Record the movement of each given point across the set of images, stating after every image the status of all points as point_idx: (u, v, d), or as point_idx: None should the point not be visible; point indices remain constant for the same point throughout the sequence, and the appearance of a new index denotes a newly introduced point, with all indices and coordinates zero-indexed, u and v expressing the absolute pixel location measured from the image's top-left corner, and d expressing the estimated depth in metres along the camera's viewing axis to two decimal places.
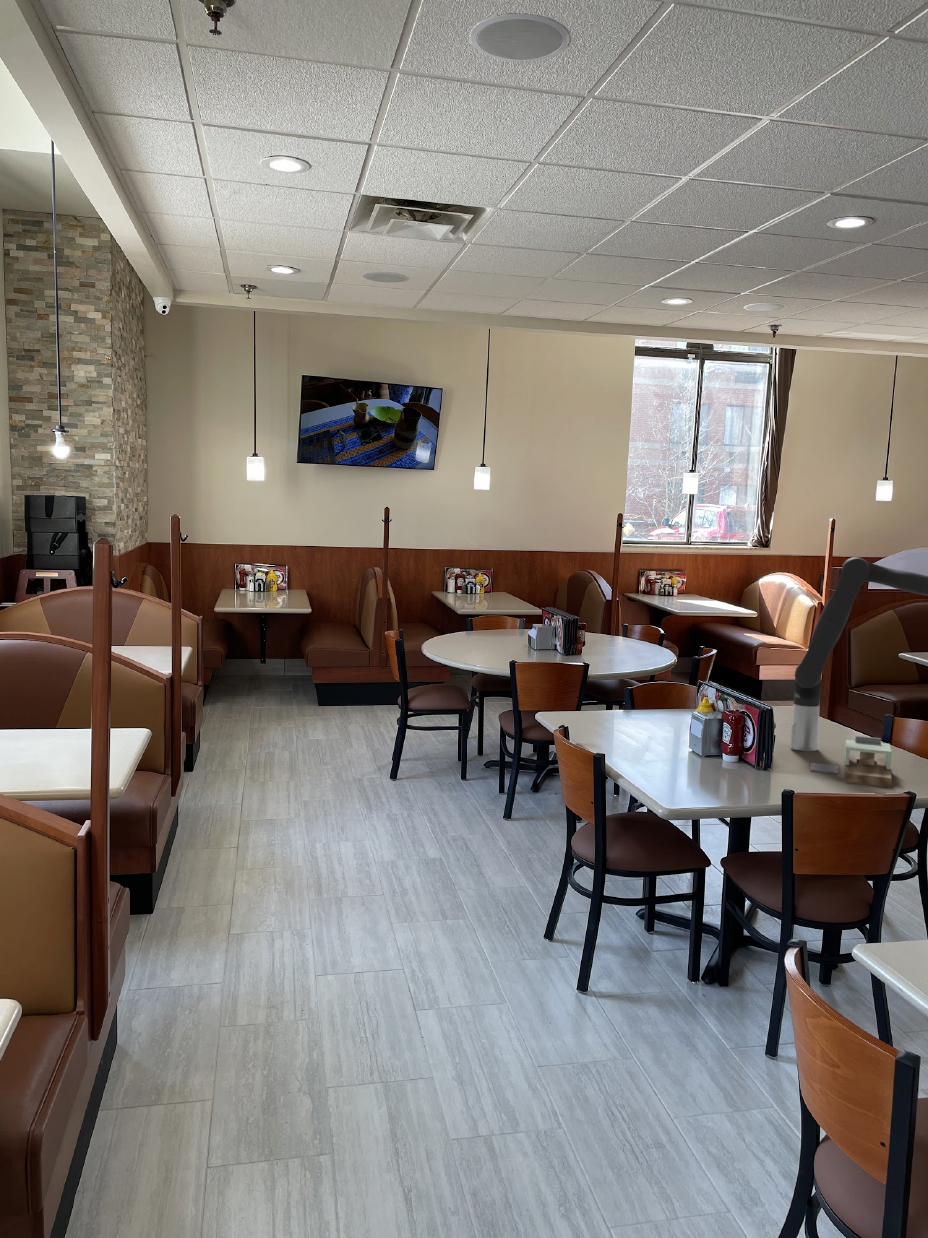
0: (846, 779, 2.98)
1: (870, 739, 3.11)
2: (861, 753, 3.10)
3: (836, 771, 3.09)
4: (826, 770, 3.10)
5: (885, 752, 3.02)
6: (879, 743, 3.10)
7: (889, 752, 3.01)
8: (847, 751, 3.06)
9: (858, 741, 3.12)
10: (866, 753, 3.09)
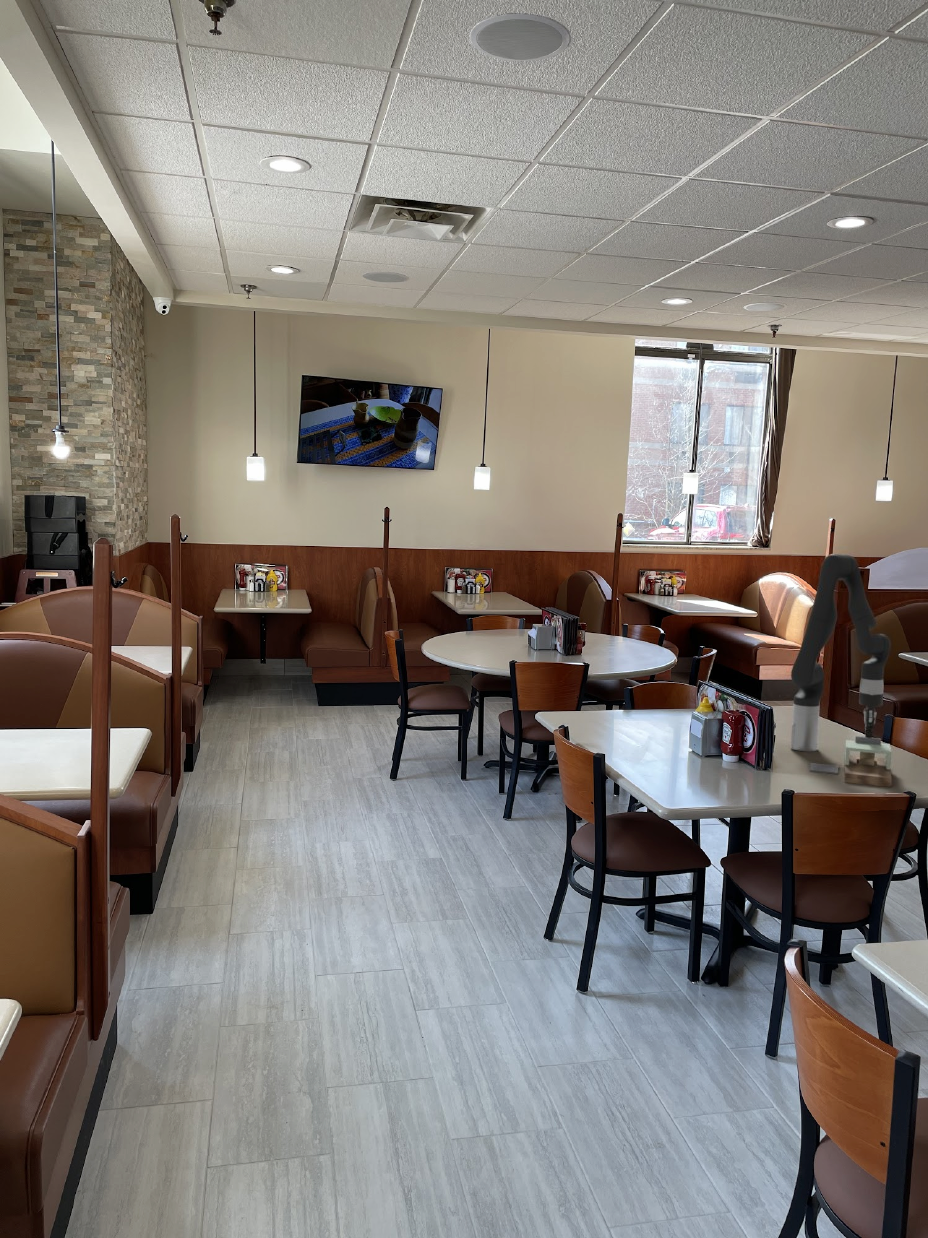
0: (846, 779, 2.98)
1: (870, 739, 3.11)
2: (861, 753, 3.10)
3: (836, 771, 3.09)
4: (826, 770, 3.10)
5: (885, 752, 3.02)
6: (879, 743, 3.10)
7: (889, 752, 3.01)
8: (847, 751, 3.06)
9: (858, 741, 3.12)
10: (866, 753, 3.09)
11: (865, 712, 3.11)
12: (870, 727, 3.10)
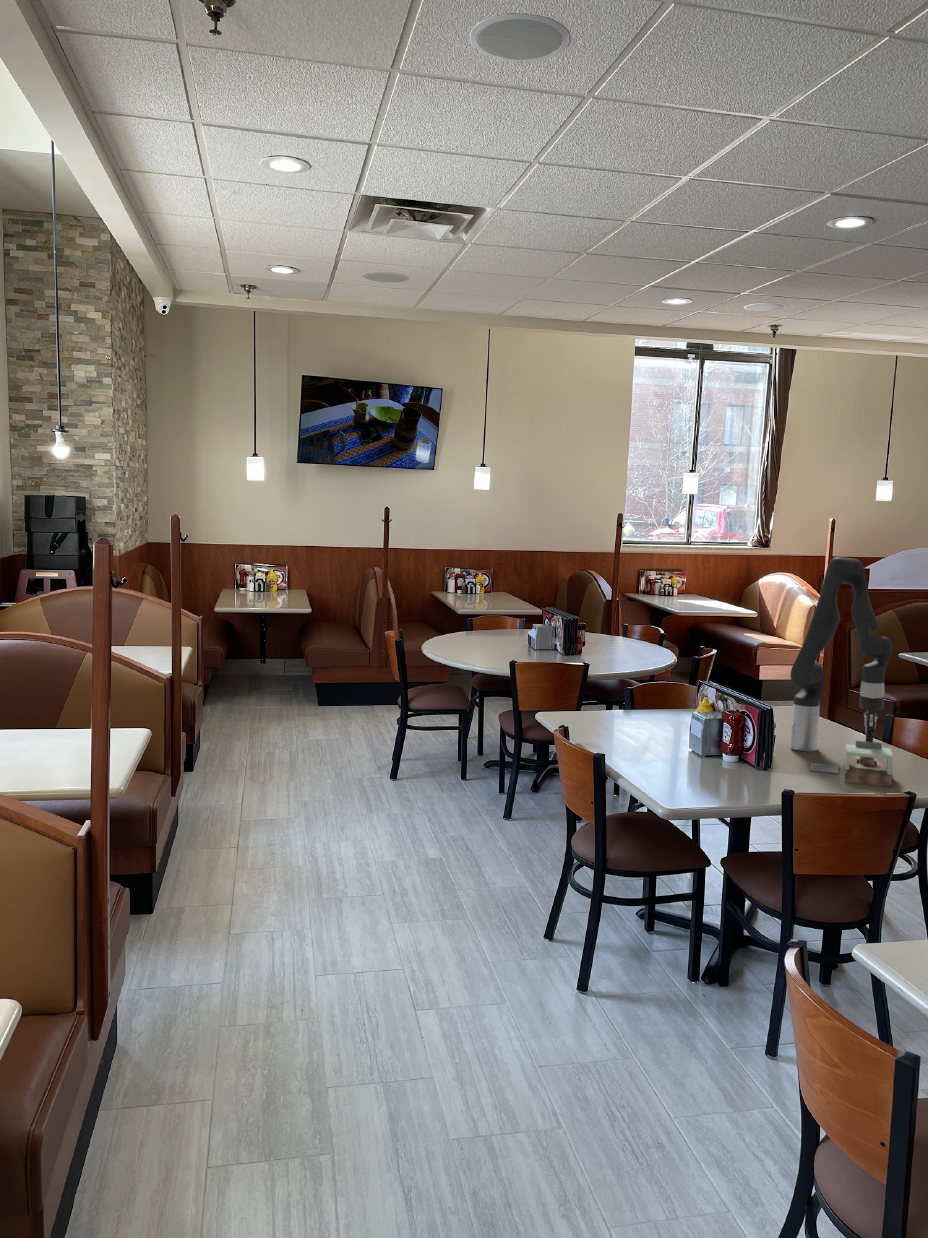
0: (846, 779, 2.98)
1: (871, 744, 3.05)
2: None
3: (836, 771, 3.09)
4: (826, 770, 3.10)
5: (886, 757, 2.96)
6: (880, 748, 3.04)
7: (890, 757, 2.95)
8: (847, 756, 3.00)
9: (858, 746, 3.06)
10: None
11: (865, 716, 3.05)
12: (871, 731, 3.04)
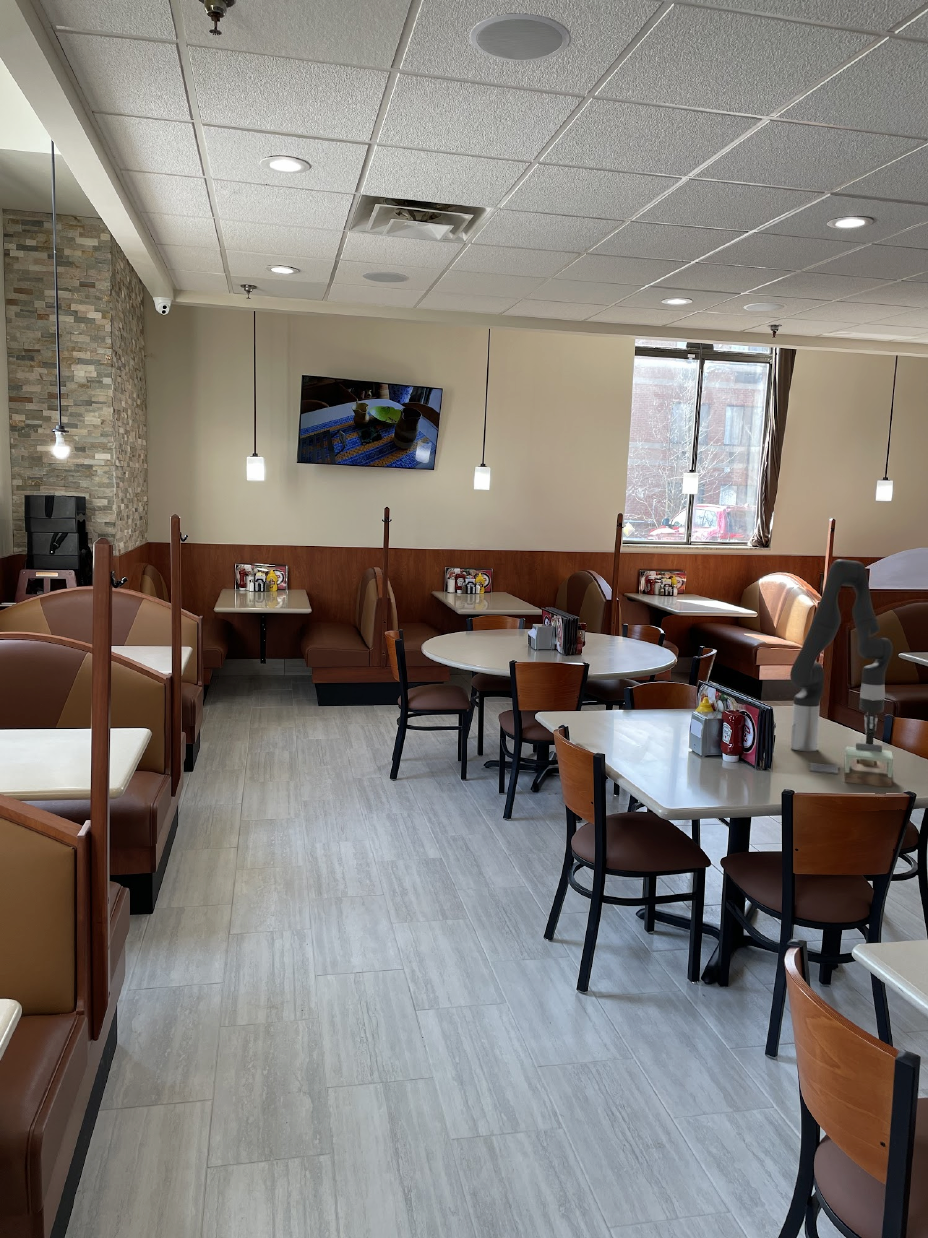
0: (846, 779, 2.98)
1: (871, 746, 3.02)
2: None
3: (836, 771, 3.09)
4: (826, 770, 3.10)
5: (886, 760, 2.93)
6: (880, 750, 3.01)
7: (891, 760, 2.92)
8: (847, 758, 2.97)
9: (859, 748, 3.03)
10: None
11: (866, 718, 3.02)
12: (871, 733, 3.01)
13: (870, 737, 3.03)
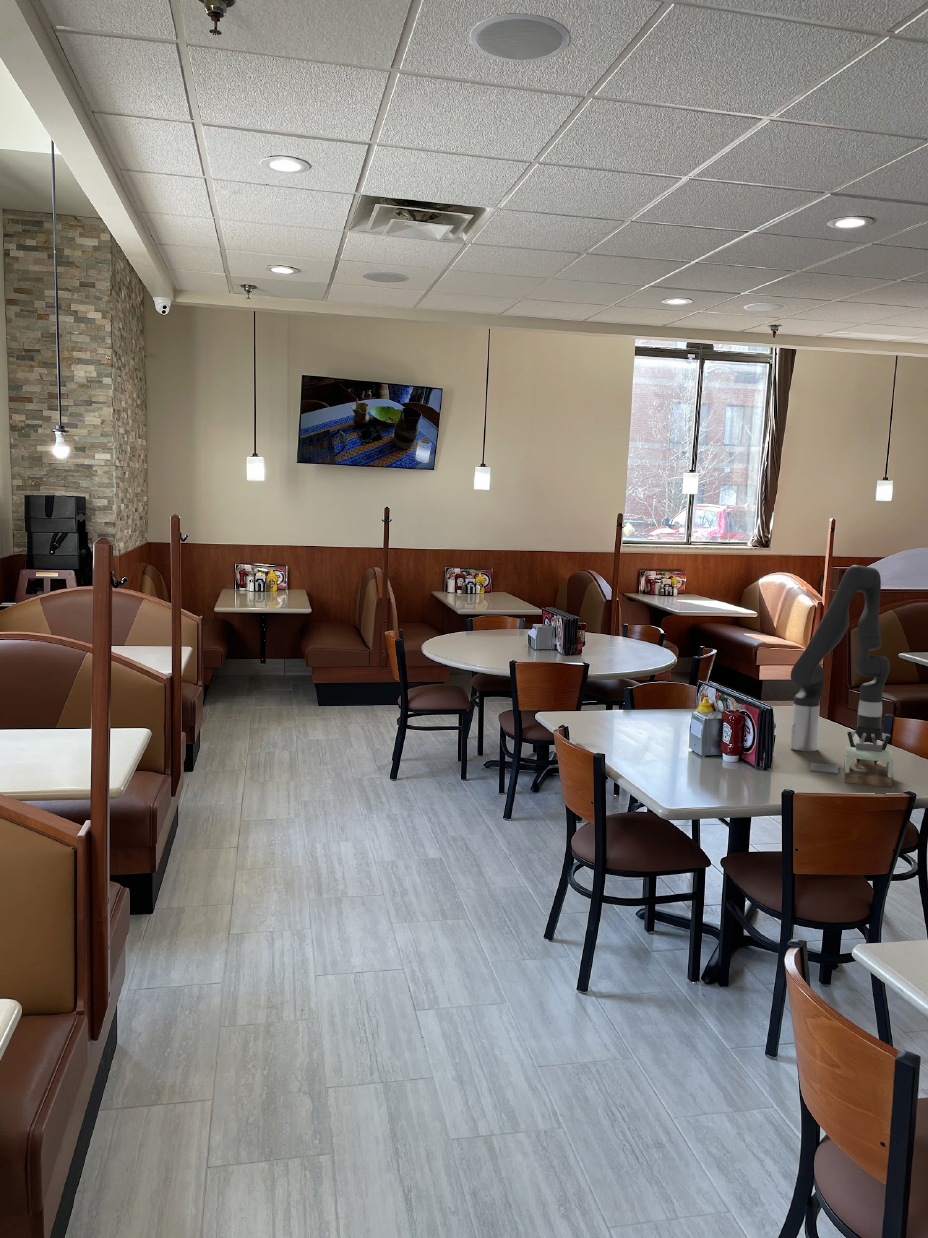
0: (846, 779, 2.98)
1: (871, 746, 3.02)
2: None
3: (836, 771, 3.09)
4: (826, 770, 3.10)
5: (886, 760, 2.92)
6: (880, 750, 3.01)
7: (891, 760, 2.92)
8: (847, 759, 2.97)
9: (859, 748, 3.03)
10: None
11: None
12: (851, 745, 3.12)
13: None
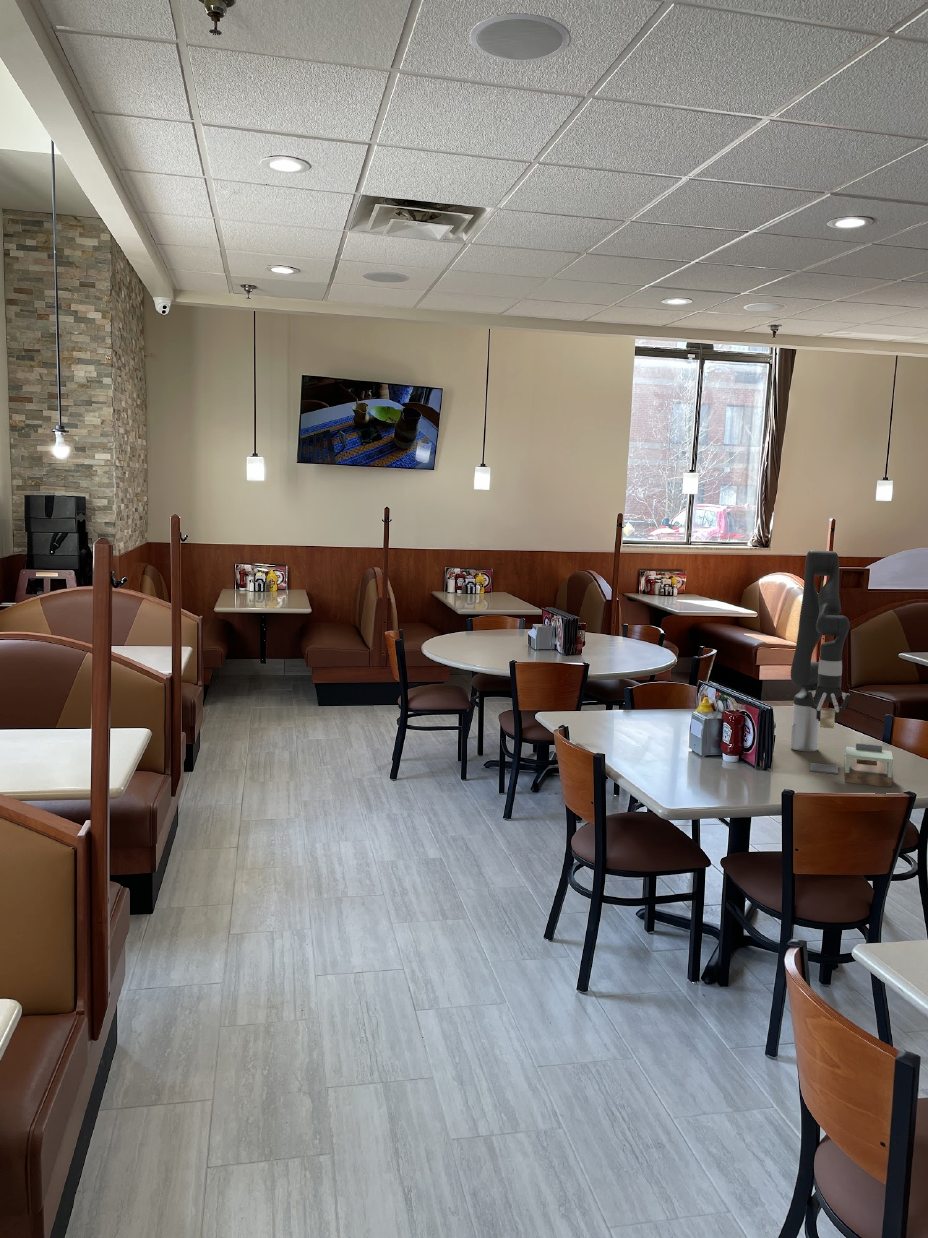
0: (846, 779, 2.98)
1: (871, 746, 3.02)
2: (821, 713, 3.09)
3: (836, 771, 3.09)
4: (826, 770, 3.10)
5: (886, 760, 2.92)
6: (880, 750, 3.01)
7: (891, 760, 2.92)
8: (847, 759, 2.97)
9: (859, 748, 3.03)
10: (826, 712, 3.09)
11: None
12: None
13: None
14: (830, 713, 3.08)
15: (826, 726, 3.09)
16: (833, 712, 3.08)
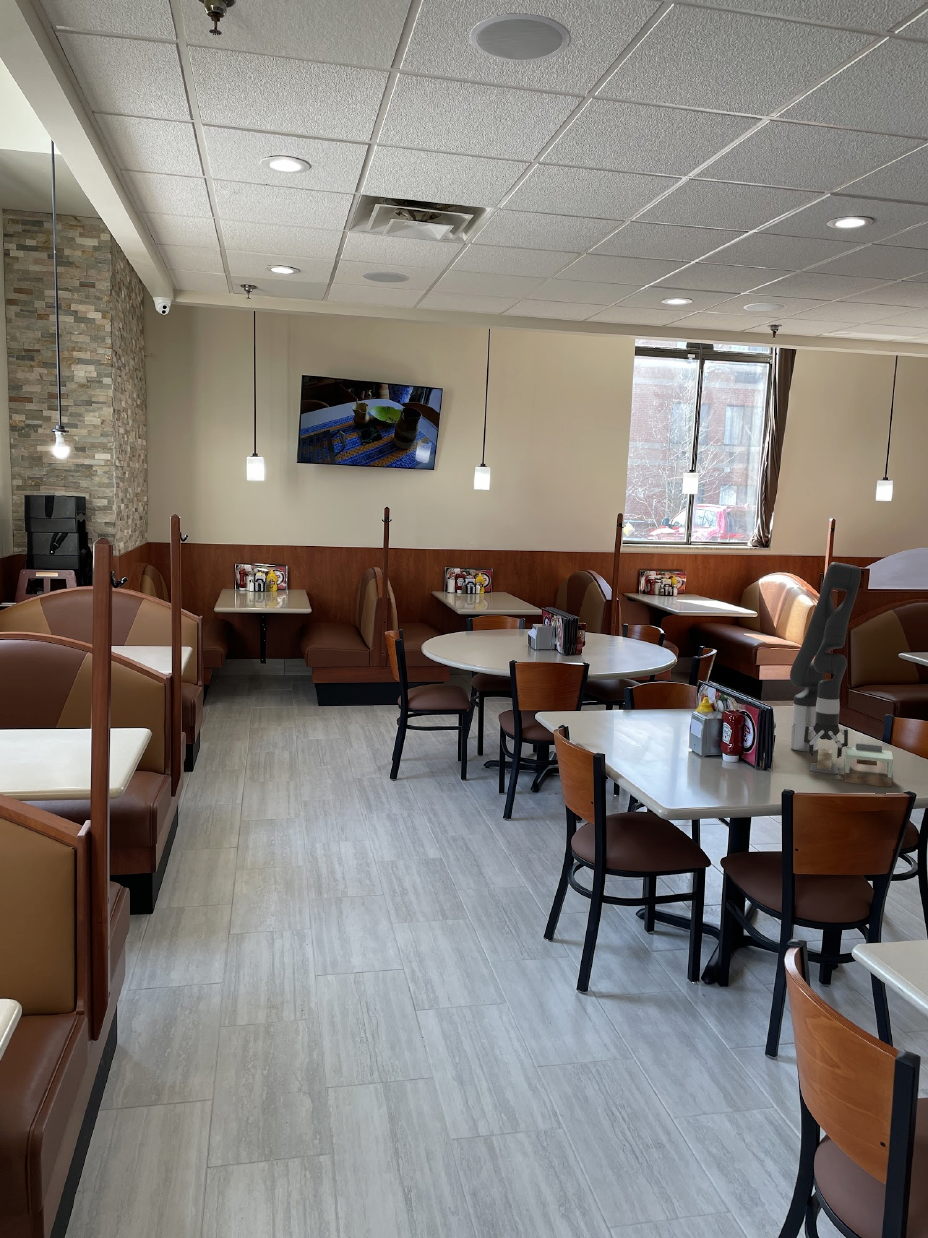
0: (846, 779, 2.98)
1: (871, 746, 3.02)
2: (818, 754, 3.11)
3: (836, 771, 3.09)
4: (826, 770, 3.10)
5: (886, 760, 2.92)
6: (880, 750, 3.01)
7: (891, 760, 2.92)
8: (847, 759, 2.97)
9: (859, 748, 3.03)
10: (823, 754, 3.11)
11: None
12: None
13: None
14: (827, 755, 3.10)
15: (823, 768, 3.11)
16: (830, 754, 3.10)
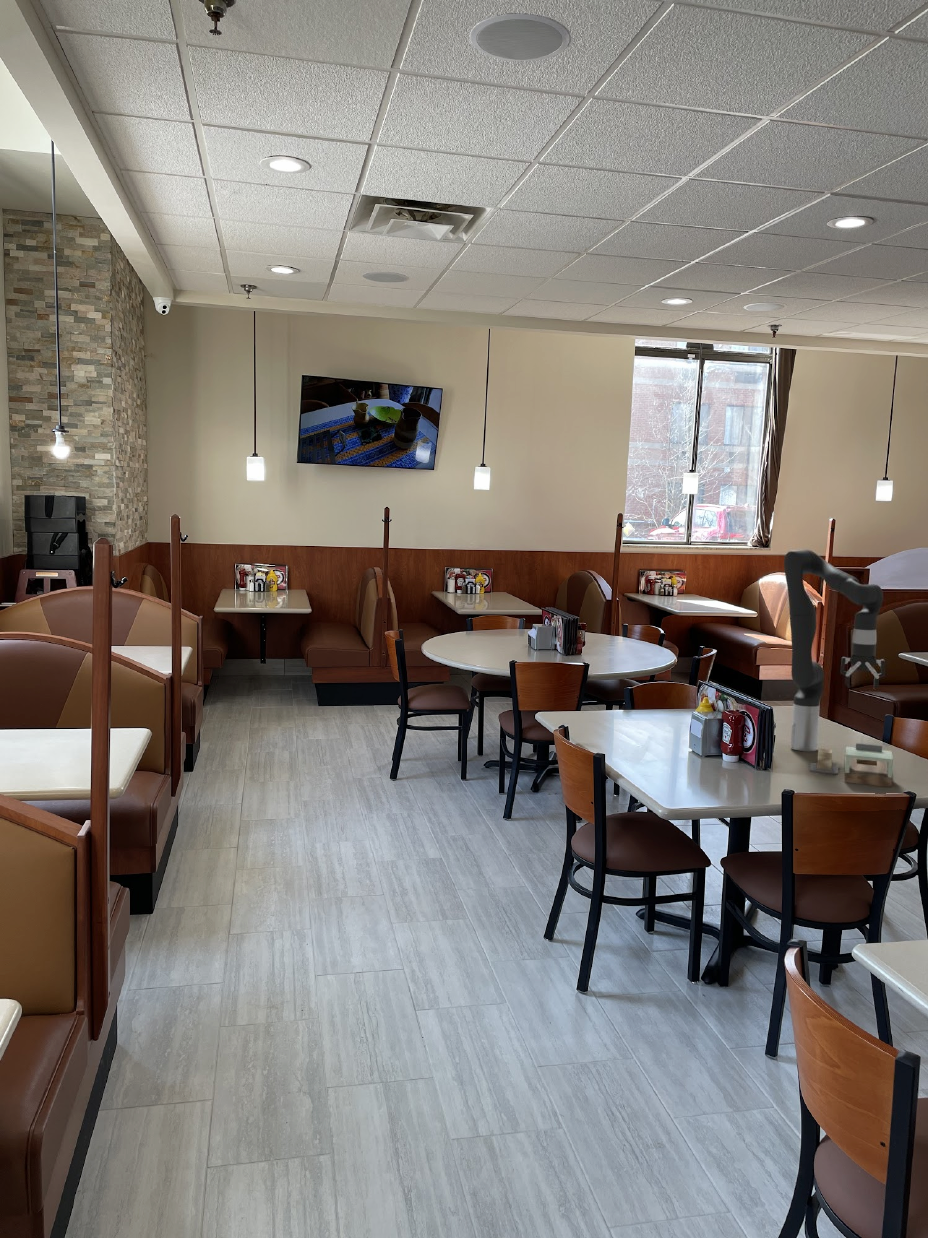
0: (846, 779, 2.98)
1: (871, 746, 3.02)
2: (818, 754, 3.11)
3: (836, 771, 3.09)
4: (826, 770, 3.10)
5: (886, 760, 2.92)
6: (880, 750, 3.01)
7: (891, 760, 2.92)
8: (847, 759, 2.97)
9: (859, 748, 3.03)
10: (823, 754, 3.11)
11: None
12: None
13: (845, 676, 3.15)
14: (827, 755, 3.10)
15: (823, 768, 3.11)
16: (830, 754, 3.10)
